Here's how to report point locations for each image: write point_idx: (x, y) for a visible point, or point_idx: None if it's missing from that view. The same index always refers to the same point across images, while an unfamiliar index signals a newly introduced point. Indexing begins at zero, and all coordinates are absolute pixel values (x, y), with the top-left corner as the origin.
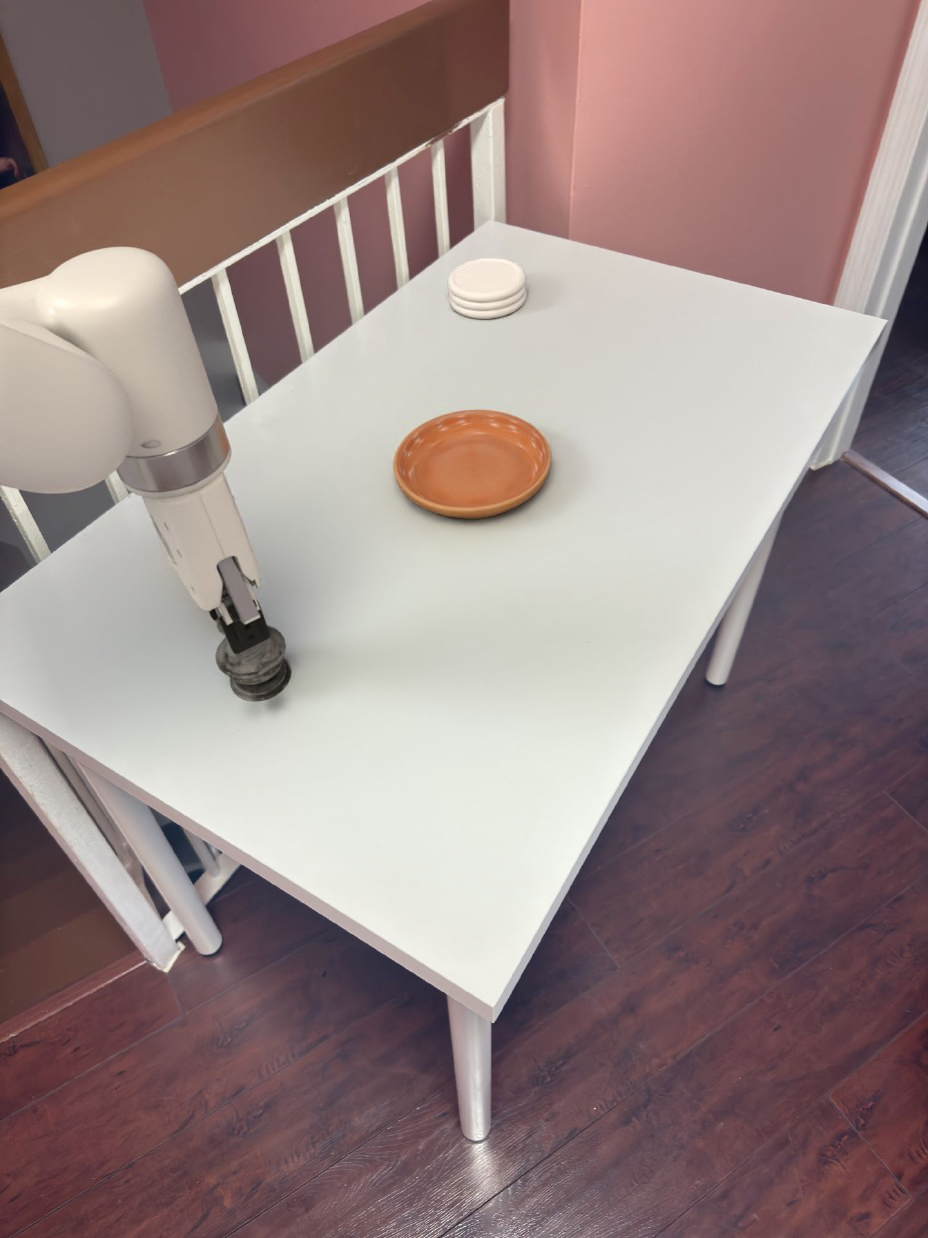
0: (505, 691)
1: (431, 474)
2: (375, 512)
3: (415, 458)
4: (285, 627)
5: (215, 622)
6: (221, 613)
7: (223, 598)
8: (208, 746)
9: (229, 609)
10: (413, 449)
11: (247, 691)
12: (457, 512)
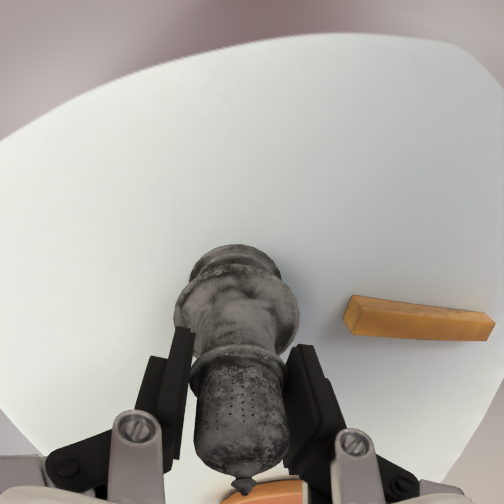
0: (58, 408)
1: None
2: None
3: None
4: (283, 353)
5: (369, 297)
6: (135, 444)
7: (220, 452)
8: (181, 157)
9: (76, 478)
10: None
11: (219, 261)
12: (243, 498)
